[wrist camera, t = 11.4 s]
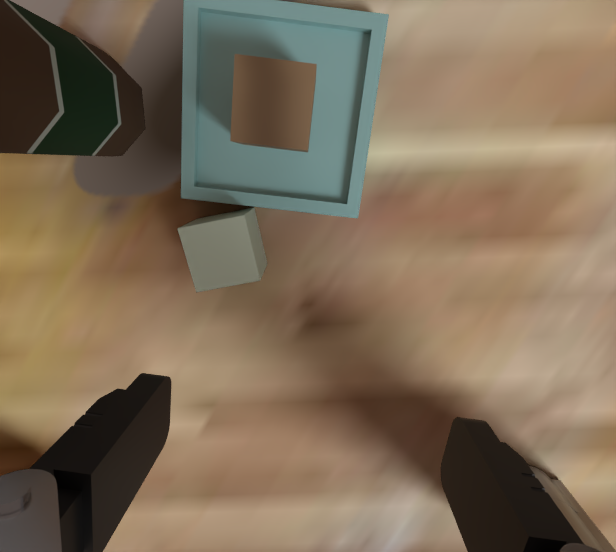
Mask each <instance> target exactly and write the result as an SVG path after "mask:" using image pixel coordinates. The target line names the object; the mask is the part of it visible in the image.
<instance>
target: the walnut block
mask: <svg viewBox="0 0 616 552" xmlns="http://www.w3.org/2000/svg"><path fill="white" fill-rule="evenodd" d="M316 69H317V64H312V63H304V62H296V61H288V60H281V59H273V58H265V57H257V56H249V55H241V54H235V56H234V76H233V96H232V116H231V136H230V141H232V142H235V143H239V144H243V145H249V146H258V147H266V148H275V149H283V150H291V151H300V152H308V149H309V140H310V131H311V122H312V112H313V103H314V94H315V85H316Z"/></svg>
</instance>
